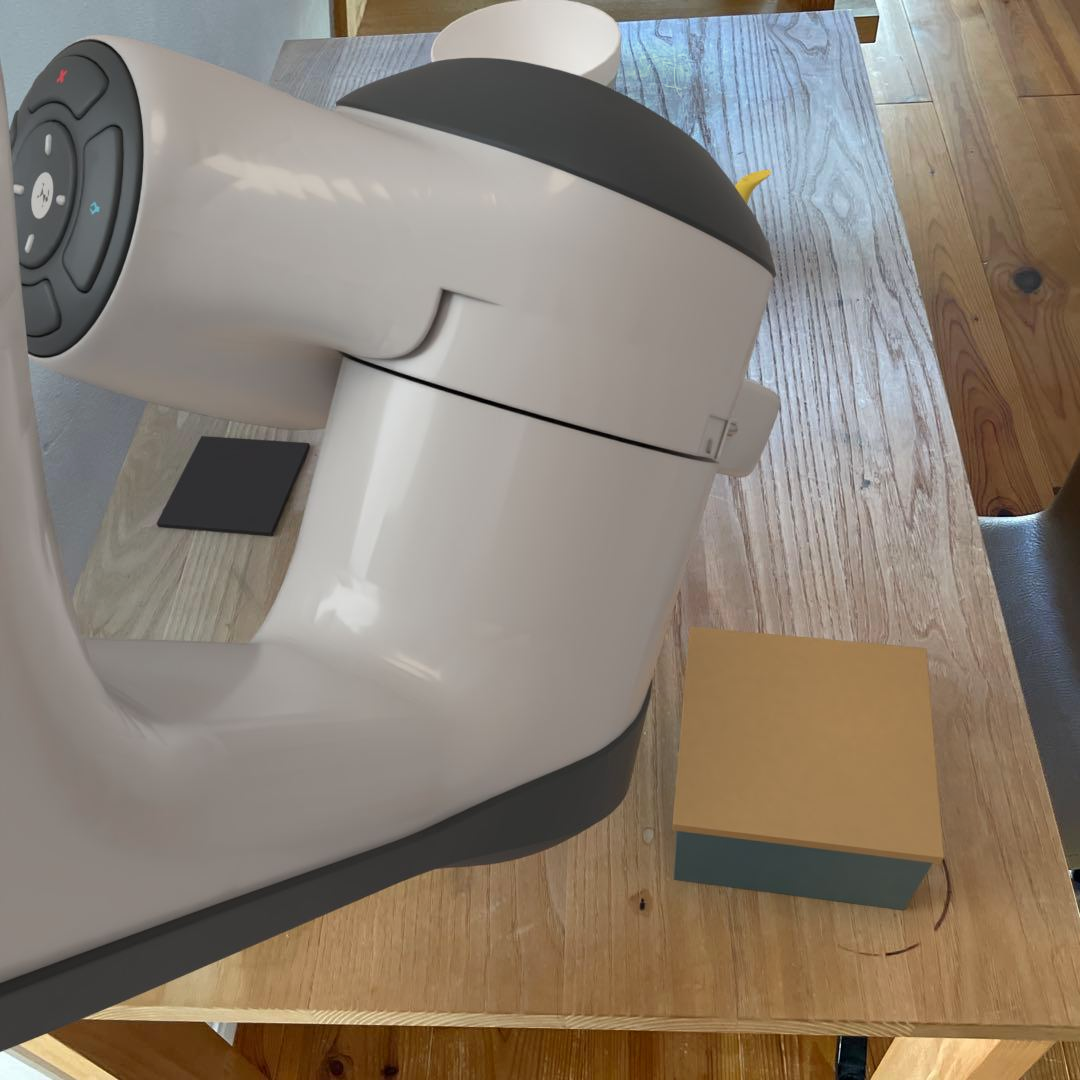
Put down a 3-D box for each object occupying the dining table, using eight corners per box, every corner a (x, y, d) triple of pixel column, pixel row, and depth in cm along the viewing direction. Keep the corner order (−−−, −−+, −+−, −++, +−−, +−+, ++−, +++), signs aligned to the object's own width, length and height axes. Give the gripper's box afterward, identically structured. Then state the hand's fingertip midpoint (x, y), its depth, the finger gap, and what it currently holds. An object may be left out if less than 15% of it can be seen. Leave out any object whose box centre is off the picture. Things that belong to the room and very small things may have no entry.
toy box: (908, 915, 52) (944, 858, 45) (669, 883, 54) (672, 824, 48) (896, 720, 59) (926, 647, 52) (685, 698, 61) (689, 626, 54)
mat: (272, 536, 72) (270, 532, 71) (158, 526, 73) (156, 523, 73) (310, 446, 77) (309, 442, 77) (203, 439, 79) (201, 435, 78)
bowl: (625, 169, 98) (624, 82, 91) (436, 180, 99) (420, 96, 92) (621, 75, 109) (619, -9, 103) (451, 86, 111) (439, 5, 104)
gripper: (743, 325, 30) (838, 382, 42) (276, 171, 39) (465, 254, 51) (668, 516, 32) (781, 518, 44) (232, 325, 40) (427, 371, 53)
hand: (608, 374), depth 48 cm, fingers closed
